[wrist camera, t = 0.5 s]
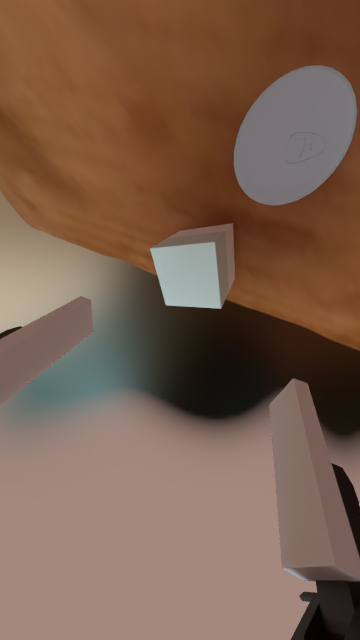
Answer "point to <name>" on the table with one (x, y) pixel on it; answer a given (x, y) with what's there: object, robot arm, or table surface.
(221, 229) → the tower base
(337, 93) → the canned food
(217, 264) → the tower top
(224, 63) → the table surface
